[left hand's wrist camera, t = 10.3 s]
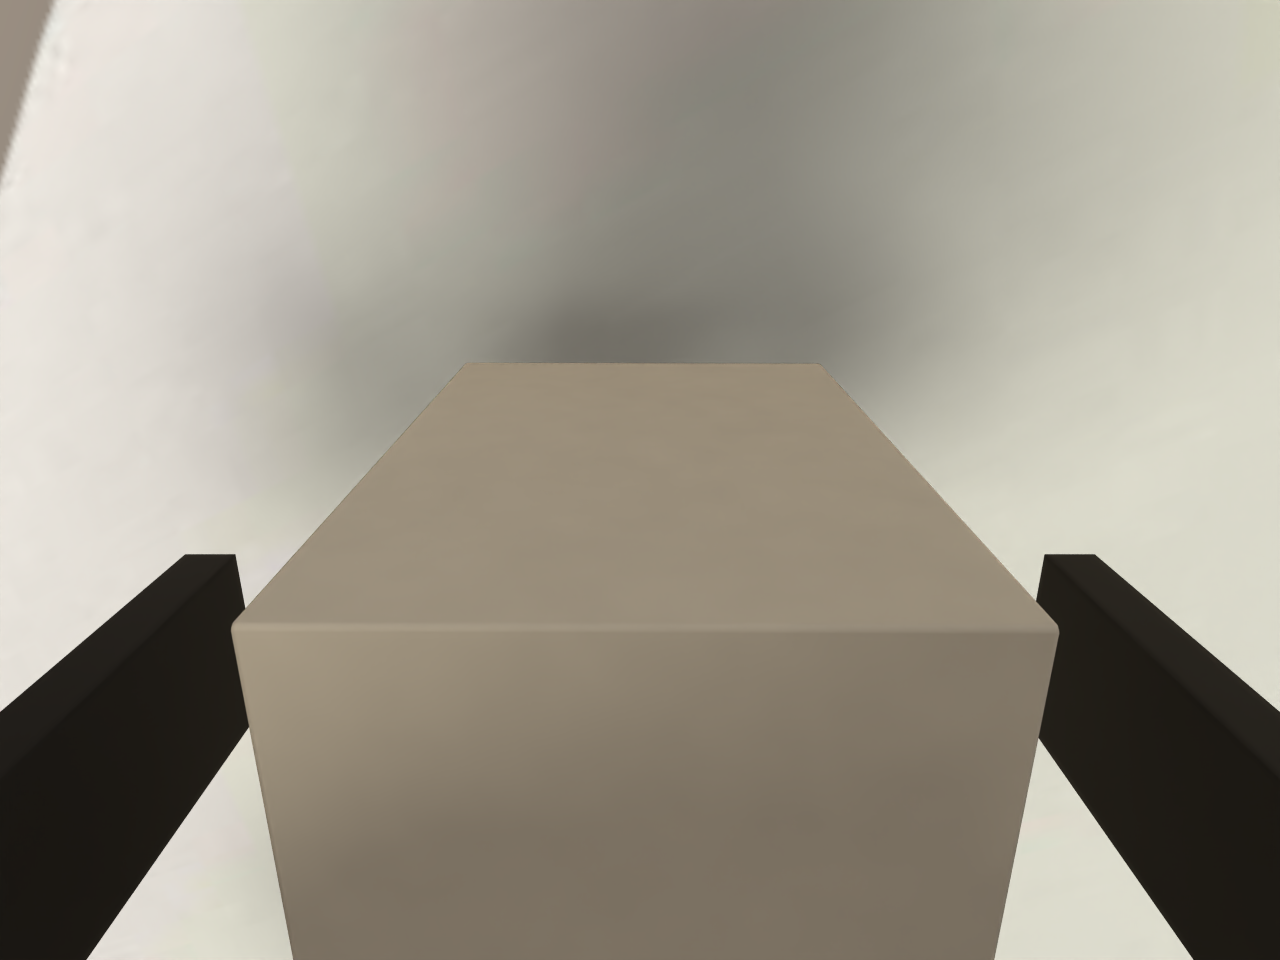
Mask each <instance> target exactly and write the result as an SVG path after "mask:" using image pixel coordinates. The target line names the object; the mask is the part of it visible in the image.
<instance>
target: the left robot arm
mask: <svg viewBox="0 0 1280 960" xmlns="http://www.w3.org/2000/svg"><path fill="white" fill-rule="evenodd" d="M1036 602H1037V603H1038V604H1039V605H1040V606H1041V607H1042V609H1043V610H1044V611H1045V612H1046V613H1047V614H1048V615H1049V616H1050V617H1051V618H1052V620H1053V621H1054V622H1055V623H1056V624H1057V625H1058V629H1059V637H1058V642H1057V647H1056V652H1055V657H1054V662H1053V667H1052V672H1051V677H1050V682H1049V687H1048V692H1047V697H1046V702H1045V707H1044V712H1043V717H1042V722H1041V727H1040V732H1039V737H1038V738H1039V739H1040V741H1041V742H1042V743H1043V745H1044V746H1045V748H1046V749H1047V751H1048V752H1049V753H1050V755H1051V756H1052V758H1053V759H1054V761H1055V762H1056V763H1057V765H1058V766H1059V768H1060V769H1061V771H1062V772H1063V774H1064V775H1065V776H1066V778H1067V779H1068V781H1069V782H1070V784H1071V785H1072V786H1073V788H1074V789H1075V791H1076V792H1077V794H1078V795H1079V796H1080V798H1081V799H1082V801H1083V802H1084V804H1085V805H1086V806H1087V808H1088V809H1089V811H1090V812H1091V814H1092V815H1093V816H1094V818H1095V819H1096V821H1097V822H1098V824H1099V825H1100V826H1101V828H1102V829H1103V831H1104V832H1105V834H1106V835H1107V836H1108V838H1109V839H1110V841H1111V842H1112V844H1113V845H1114V847H1115V848H1116V849H1117V851H1118V852H1119V854H1120V855H1121V857H1122V858H1123V859H1124V861H1125V862H1126V864H1127V865H1128V867H1129V868H1130V869H1131V871H1132V872H1133V874H1134V875H1135V877H1136V878H1137V879H1138V881H1139V882H1140V884H1141V885H1142V887H1143V888H1144V889H1145V891H1146V892H1147V894H1148V895H1149V897H1150V898H1151V899H1152V901H1153V902H1154V904H1155V905H1156V907H1157V908H1158V910H1159V911H1160V912H1161V914H1162V915H1163V917H1164V918H1165V920H1166V921H1167V922H1168V924H1169V925H1170V927H1171V928H1172V930H1173V931H1174V932H1175V934H1176V935H1177V937H1178V938H1179V940H1180V941H1181V942H1182V944H1183V945H1184V947H1185V948H1186V950H1187V951H1188V952H1189V954H1190V955H1191V957H1192V958H1193V960H1280V712H1279V711H1278V710H1277V709H1276V708H1275V707H1273V706H1272V705H1271V704H1270V703H1269V702H1267V701H1266V700H1265V699H1264V698H1263V697H1262V696H1260V695H1259V694H1258V693H1257V692H1256V691H1255V690H1253V689H1252V688H1251V687H1250V686H1249V685H1248V684H1246V683H1245V682H1244V681H1243V680H1242V679H1240V678H1239V677H1238V676H1237V675H1236V674H1235V673H1233V672H1232V671H1231V670H1230V669H1229V668H1228V667H1226V666H1225V665H1224V664H1223V663H1222V662H1221V661H1219V660H1218V659H1217V658H1216V657H1215V656H1213V655H1212V654H1211V653H1210V652H1209V651H1208V650H1206V649H1205V648H1204V647H1203V646H1202V645H1201V644H1199V643H1198V642H1197V641H1196V640H1195V639H1193V638H1192V637H1191V636H1190V635H1189V634H1188V633H1186V632H1185V631H1184V630H1183V629H1182V628H1181V627H1179V626H1178V625H1177V624H1176V623H1175V622H1174V621H1172V620H1171V619H1170V618H1169V617H1168V616H1166V615H1165V614H1164V613H1163V612H1162V611H1161V610H1159V609H1158V608H1157V607H1156V606H1155V605H1154V604H1152V603H1151V602H1150V601H1149V600H1148V599H1147V598H1145V597H1144V596H1143V595H1142V594H1141V593H1139V592H1138V591H1137V590H1136V589H1135V588H1134V587H1132V586H1131V585H1130V584H1129V583H1128V582H1127V581H1125V580H1124V579H1123V578H1122V577H1121V576H1119V575H1118V574H1117V573H1116V572H1115V571H1114V570H1112V569H1111V568H1110V567H1109V566H1108V565H1107V564H1105V563H1104V562H1103V561H1102V560H1101V559H1100V558H1098V557H1097V556H1096V555H1095V554H1045V555H1044V561H1043V566H1042V572H1041V577H1040V583H1039V588H1038V593H1037V599H1036ZM244 610H245V604H244V599H243V594H242V588H241V583H240V577H239V572H238V566H237V561H236V555H235V554H185V555H184V556H183V557H182V558H180V559H179V560H178V561H177V562H176V563H175V564H173V565H172V566H171V567H170V568H169V569H168V570H166V571H165V572H164V573H163V574H162V575H160V576H159V577H158V578H157V579H156V580H155V581H153V582H152V583H151V584H150V585H149V586H148V587H146V588H145V589H144V590H143V591H142V592H141V593H139V594H138V595H137V596H136V597H135V598H133V599H132V600H131V601H130V602H129V603H128V604H126V605H125V606H124V607H123V608H122V609H121V610H119V611H118V612H117V613H116V614H115V615H114V616H112V617H111V618H110V619H109V620H108V621H106V622H105V623H104V624H103V625H102V626H101V627H99V628H98V629H97V630H96V631H95V632H94V633H92V634H91V635H90V636H89V637H88V638H86V639H85V640H84V641H83V642H82V643H81V644H79V645H78V646H77V647H76V648H75V649H74V650H72V651H71V652H70V653H69V654H68V655H67V656H65V657H64V658H63V659H62V660H61V661H59V662H58V663H57V664H56V665H55V666H54V667H52V668H51V669H50V670H49V671H48V672H47V673H45V674H44V675H43V676H42V677H41V678H40V679H38V680H37V681H36V682H35V683H34V684H32V685H31V686H30V687H29V688H28V689H27V690H25V691H24V692H23V693H22V694H21V695H20V696H18V697H17V698H16V699H15V700H14V701H12V702H11V703H10V704H9V705H8V706H7V707H5V708H4V709H3V710H2V711H1V712H0V960H87V958H88V957H89V955H90V954H91V952H92V951H93V950H94V948H95V947H96V945H97V944H98V942H99V941H100V940H101V938H102V937H103V935H104V934H105V932H106V931H107V930H108V928H109V927H110V925H111V924H112V922H113V921H114V919H115V918H116V917H117V915H118V914H119V912H120V911H121V909H122V908H123V907H124V905H125V904H126V902H127V901H128V899H129V898H130V897H131V895H132V894H133V892H134V891H135V889H136V888H137V887H138V885H139V884H140V882H141V881H142V879H143V878H144V877H145V875H146V874H147V872H148V871H149V869H150V868H151V867H152V865H153V864H154V862H155V861H156V859H157V858H158V857H159V855H160V854H161V852H162V851H163V849H164V848H165V846H166V845H167V844H168V842H169V841H170V839H171V838H172V836H173V835H174V834H175V832H176V831H177V829H178V828H179V826H180V825H181V824H182V822H183V821H184V819H185V818H186V816H187V815H188V814H189V812H190V811H191V809H192V808H193V806H194V805H195V804H196V802H197V801H198V799H199V798H200V796H201V795H202V794H203V792H204V791H205V789H206V788H207V786H208V785H209V784H210V782H211V781H212V779H213V778H214V776H215V775H216V773H217V772H218V771H219V769H220V768H221V766H222V765H223V763H224V762H225V761H226V759H227V758H228V756H229V755H230V753H231V752H232V751H233V749H234V748H235V746H236V745H237V743H238V742H239V741H240V739H241V738H242V736H243V735H244V733H245V732H246V731H247V729H248V728H249V723H248V718H247V712H246V707H245V702H244V697H243V691H242V686H241V681H240V675H239V670H238V665H237V660H236V654H235V649H234V644H233V639H232V633H231V627H232V624H233V622H234V621H235V620H236V619H237V618H238V616H239V615H240V614H241V613H242V612H243V611H244Z"/></svg>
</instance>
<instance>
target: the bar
mask: <svg viewBox="0 0 1280 960" xmlns="http://www.w3.org/2000/svg"><path fill="white" fill-rule="evenodd" d="M231 633H232V639H233V644H234V649H235V654H236V660H237V665H238V670H239V675H240V681H241V686H242V691H243V697H244V702H245V707H246V712H247V718H248V723H249V728H250V733H251V739H252V744H253V749H254V755H255V760H256V765H257V770H258V776H259V781H260V786H261V791H262V797H263V802H264V807H265V813H266V818H267V823H268V828H269V834H270V839H271V844H272V849H273V855H274V860H275V865H276V871H277V876H278V881H279V886H280V892H281V897H282V902H283V907H284V913H285V918H286V923H287V928H288V934H289V939H290V944H291V950H292V955H293V960H994V958H995V953H996V948H997V943H998V938H999V933H1000V928H1001V923H1002V918H1003V913H1004V908H1005V903H1006V898H1007V893H1008V887H1009V882H1010V877H1011V872H1012V867H1013V862H1014V857H1015V852H1016V847H1017V842H1018V837H1019V832H1020V827H1021V822H1022V817H1023V812H1024V807H1025V802H1026V797H1027V792H1028V787H1029V782H1030V777H1031V772H1032V767H1033V762H1034V757H1035V752H1036V747H1037V742H1038V737H1039V732H1040V727H1041V722H1042V717H1043V712H1044V707H1045V702H1046V697H1047V692H1048V687H1049V682H1050V677H1051V672H1052V667H1053V662H1054V657H1055V652H1056V647H1057V642H1058V637H1059V629H1058V625H1057V624H1056V623H1055V622H1054V621H1053V620H1052V618H1051V617H1050V616H1049V615H1048V614H1047V613H1046V612H1045V611H1044V610H1043V609H1042V607H1041V606H1040V605H1039V604H1038V603H1037V602H1036V601H1035V600H1034V599H1033V598H1032V596H1031V595H1030V594H1029V593H1028V592H1027V591H1026V590H1025V589H1024V588H1023V587H1022V585H1021V584H1020V583H1019V582H1018V581H1017V580H1016V579H1015V578H1014V577H1013V576H1012V574H1011V573H1010V572H1009V571H1008V570H1007V569H1006V568H1005V567H1004V566H1003V565H1002V563H1001V562H1000V561H999V560H998V559H997V558H996V557H995V556H994V555H993V554H992V552H991V551H990V550H989V549H988V548H987V547H986V546H985V545H984V544H983V543H982V541H981V540H980V539H979V538H978V537H977V536H976V535H975V534H974V533H973V532H972V531H971V529H970V528H969V527H968V526H967V525H966V524H965V523H964V522H963V521H962V520H961V518H960V517H959V516H958V515H957V514H956V513H955V512H954V511H953V510H952V509H951V507H950V506H949V505H948V504H947V503H946V502H945V501H944V500H943V499H942V498H941V496H940V495H939V494H938V493H937V492H936V491H935V490H934V489H933V488H932V487H931V485H930V484H929V483H928V482H927V481H926V480H925V479H924V478H923V477H922V476H921V474H920V473H919V472H918V471H917V470H916V469H915V468H914V467H913V466H912V465H911V463H910V462H909V461H908V460H907V459H906V458H905V457H904V456H903V455H902V454H901V452H900V451H899V450H898V449H897V448H896V447H895V446H894V445H893V444H892V443H891V441H890V440H889V439H888V438H887V437H886V436H885V435H884V434H883V433H882V432H881V430H880V429H879V428H878V427H877V426H876V425H875V424H874V423H873V422H872V421H871V420H870V418H869V417H868V416H867V415H866V414H865V413H864V412H863V411H862V410H861V409H860V407H859V406H858V405H857V404H856V403H855V402H854V401H853V400H852V399H851V398H850V396H849V395H848V394H847V393H846V392H845V391H844V390H843V389H842V388H841V387H840V385H839V384H838V383H837V382H836V381H835V380H834V379H833V378H832V377H831V376H830V374H829V373H828V372H827V371H826V370H825V369H824V368H823V367H822V366H821V365H820V364H761V363H466V364H465V365H464V366H463V367H462V368H461V369H460V371H459V372H458V373H457V374H456V375H455V376H454V377H453V378H452V379H451V381H450V382H449V383H448V384H447V385H446V386H445V387H444V388H443V389H442V391H441V392H440V393H439V394H438V395H437V396H436V397H435V398H434V399H433V401H432V402H431V403H430V404H429V405H428V406H427V407H426V408H425V409H424V411H423V412H422V413H421V414H420V415H419V416H418V417H417V418H416V419H415V421H414V422H413V423H412V424H411V425H410V426H409V427H408V428H407V429H406V431H405V432H404V433H403V434H402V435H401V436H400V437H399V438H398V440H397V441H396V442H395V443H394V444H393V445H392V446H391V447H390V448H389V450H388V451H387V452H386V453H385V454H384V455H383V456H382V457H381V458H380V460H379V461H378V462H377V463H376V464H375V465H374V466H373V467H372V468H371V470H370V471H369V472H368V473H367V474H366V475H365V476H364V477H363V478H362V480H361V481H360V482H359V483H358V484H357V485H356V486H355V487H354V488H353V490H352V491H351V492H350V493H349V494H348V495H347V496H346V497H345V498H344V500H343V501H342V502H341V503H340V504H339V505H338V506H337V507H336V508H335V510H334V511H333V512H332V513H331V514H330V515H329V516H328V517H327V519H326V520H325V521H324V522H323V523H322V524H321V525H320V526H319V527H318V529H317V530H316V531H315V532H314V533H313V534H312V535H311V536H310V537H309V539H308V540H307V541H306V542H305V543H304V544H303V545H302V546H301V547H300V549H299V550H298V551H297V552H296V553H295V554H294V555H293V556H292V557H291V559H290V560H289V561H288V562H287V563H286V564H285V565H284V566H283V567H282V569H281V570H280V571H279V572H278V573H277V574H276V575H275V576H274V577H273V579H272V580H271V581H270V582H269V583H268V584H267V585H266V586H265V588H264V589H263V590H262V591H261V592H260V593H259V594H258V595H257V596H256V598H255V599H254V600H253V601H252V602H251V603H250V604H249V605H248V606H247V608H246V609H245V610H244V611H243V612H242V613H241V614H240V615H239V616H238V618H237V619H236V620H235V621H234V622H233V624H232V627H231Z"/></svg>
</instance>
